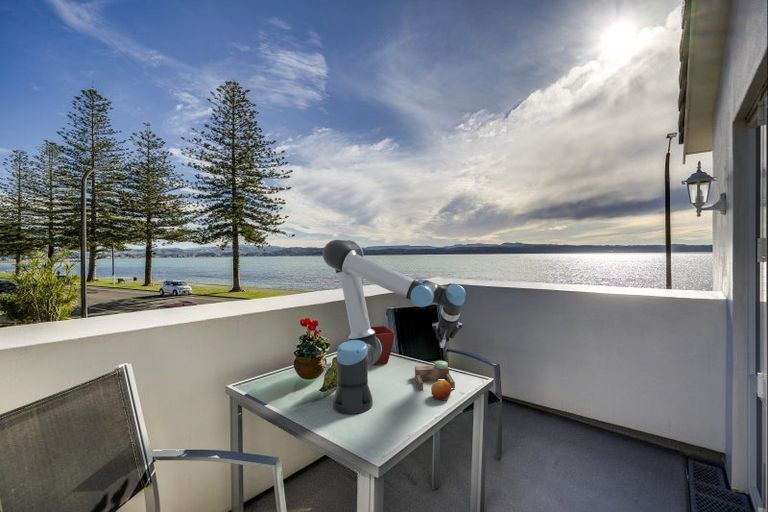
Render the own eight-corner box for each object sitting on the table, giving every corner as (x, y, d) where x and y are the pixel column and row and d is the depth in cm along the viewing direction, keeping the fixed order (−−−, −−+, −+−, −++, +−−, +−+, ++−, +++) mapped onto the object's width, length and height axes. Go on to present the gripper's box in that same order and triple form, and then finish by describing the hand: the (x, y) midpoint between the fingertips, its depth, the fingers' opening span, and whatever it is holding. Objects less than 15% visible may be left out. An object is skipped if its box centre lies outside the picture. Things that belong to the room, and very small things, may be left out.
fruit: (454, 400, 126) (443, 381, 128) (437, 408, 128) (426, 389, 130) (457, 391, 134) (446, 373, 135) (440, 399, 136) (430, 382, 137)
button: (436, 380, 150) (436, 365, 150) (433, 375, 156) (433, 361, 156) (449, 379, 150) (449, 364, 150) (446, 375, 156) (446, 360, 156)
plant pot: (352, 358, 185) (351, 328, 185) (384, 354, 191) (384, 325, 191) (360, 369, 167) (359, 335, 167) (395, 364, 173) (395, 332, 173)
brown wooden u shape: (419, 390, 139) (419, 383, 139) (416, 380, 150) (416, 374, 150) (454, 389, 140) (454, 382, 140) (449, 379, 151) (448, 373, 151)
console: (416, 380, 150) (416, 369, 150) (414, 376, 155) (414, 366, 155) (449, 379, 151) (448, 368, 151) (446, 375, 156) (446, 365, 156)
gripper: (435, 322, 132) (428, 352, 148) (467, 321, 132) (457, 351, 149) (432, 307, 137) (426, 338, 154) (463, 306, 138) (454, 337, 154)
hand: (441, 344), depth 151 cm, fingers closed
